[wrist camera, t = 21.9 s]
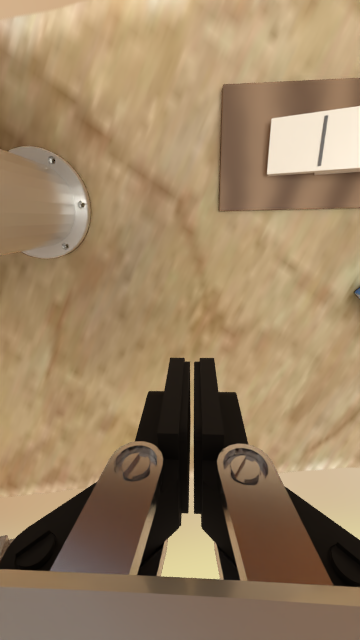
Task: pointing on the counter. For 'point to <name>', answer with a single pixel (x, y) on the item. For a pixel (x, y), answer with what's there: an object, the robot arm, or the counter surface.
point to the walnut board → (254, 137)
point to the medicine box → (357, 293)
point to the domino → (315, 142)
